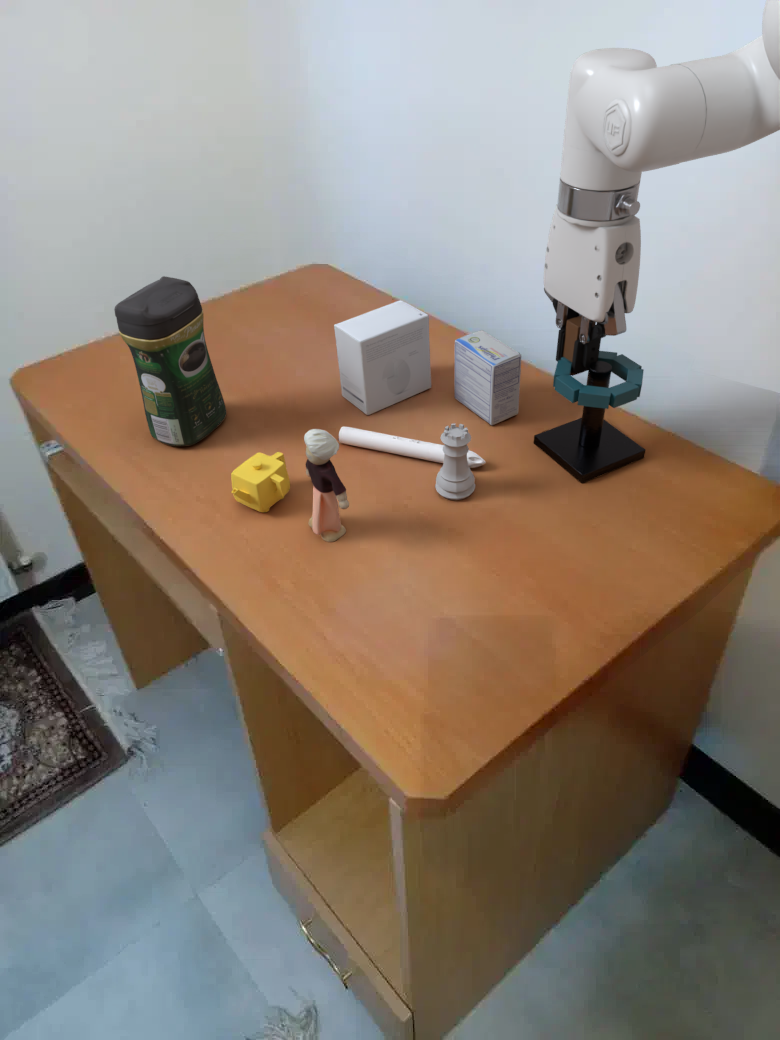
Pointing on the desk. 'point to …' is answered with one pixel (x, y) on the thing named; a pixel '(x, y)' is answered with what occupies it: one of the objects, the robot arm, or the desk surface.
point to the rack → (590, 438)
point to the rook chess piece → (455, 464)
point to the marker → (400, 445)
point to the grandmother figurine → (325, 485)
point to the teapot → (261, 481)
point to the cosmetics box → (384, 356)
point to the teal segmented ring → (573, 387)
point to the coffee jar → (172, 361)
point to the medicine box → (487, 376)
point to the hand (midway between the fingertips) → (576, 363)
